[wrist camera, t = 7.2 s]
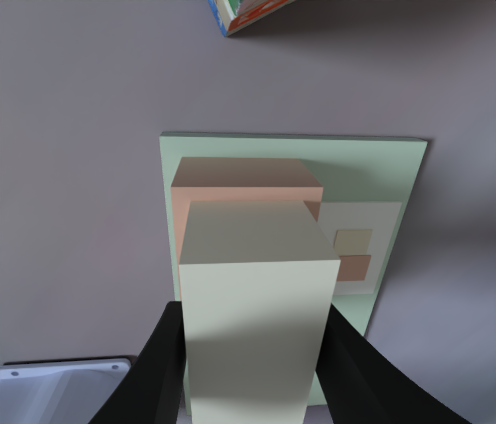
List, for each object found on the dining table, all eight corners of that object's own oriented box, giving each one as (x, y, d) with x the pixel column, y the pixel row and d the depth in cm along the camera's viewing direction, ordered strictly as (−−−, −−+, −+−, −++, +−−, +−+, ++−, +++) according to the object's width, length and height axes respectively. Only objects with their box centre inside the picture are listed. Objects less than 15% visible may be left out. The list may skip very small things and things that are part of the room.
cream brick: (199, 353, 15) (194, 441, 12) (190, 200, 11) (178, 264, 8) (281, 348, 16) (301, 431, 12) (302, 200, 12) (340, 259, 8)
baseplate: (187, 403, 26) (181, 474, 21) (162, 132, 15) (139, 160, 10) (337, 391, 27) (361, 455, 23) (416, 137, 16) (491, 165, 12)
